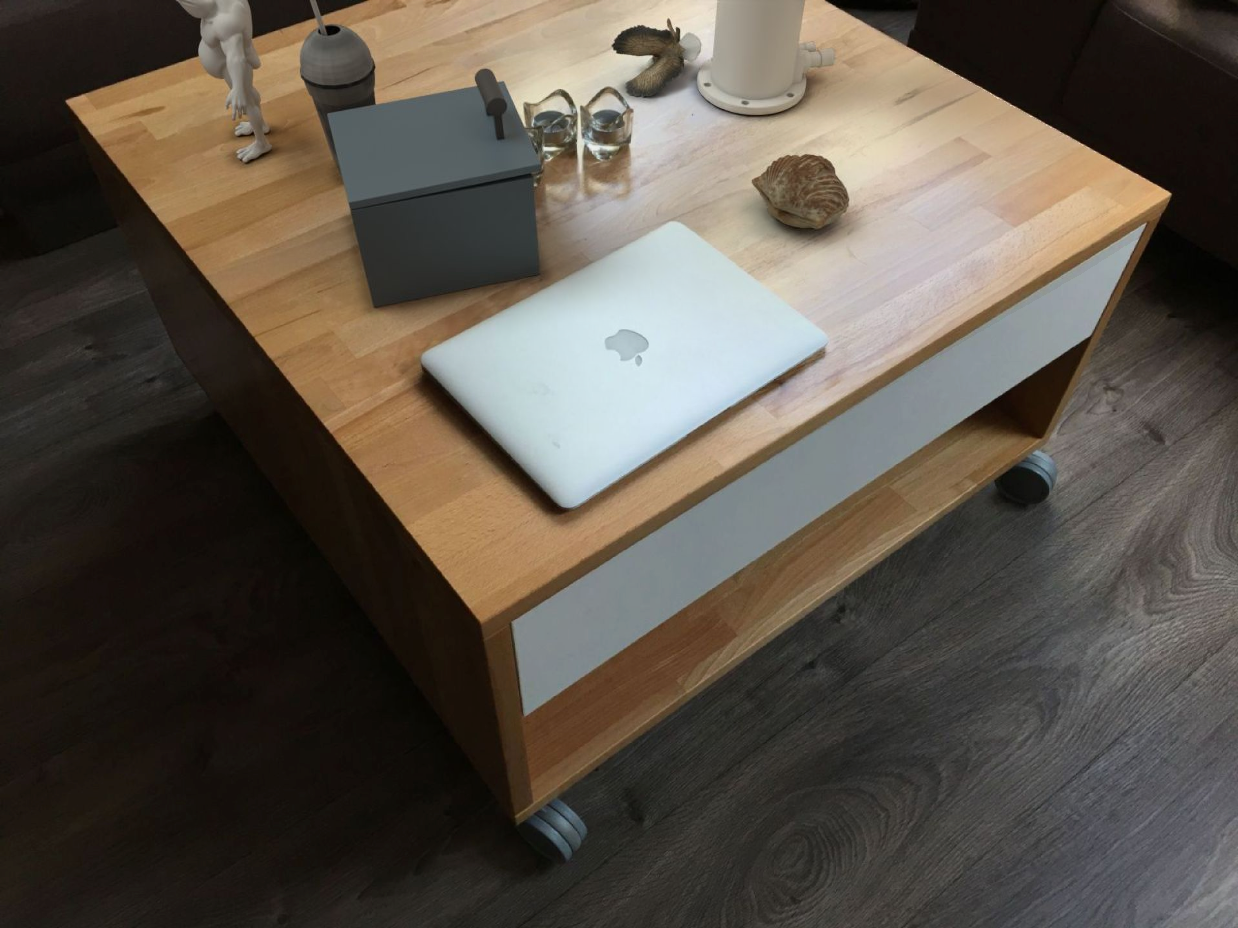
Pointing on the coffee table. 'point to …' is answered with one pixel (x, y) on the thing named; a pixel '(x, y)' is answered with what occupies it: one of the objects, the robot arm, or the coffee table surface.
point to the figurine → (232, 63)
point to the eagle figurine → (656, 55)
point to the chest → (449, 240)
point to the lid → (431, 143)
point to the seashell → (803, 191)
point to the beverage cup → (336, 72)
